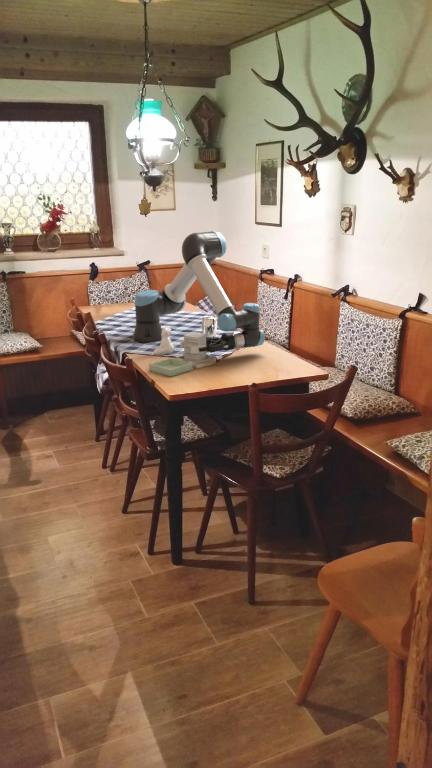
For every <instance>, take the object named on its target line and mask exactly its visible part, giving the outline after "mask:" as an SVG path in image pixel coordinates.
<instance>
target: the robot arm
mask: <svg viewBox="0 0 432 768" xmlns="http://www.w3.org/2000/svg"><path fill="white" fill-rule="evenodd" d="M226 251H227V241H226V238H225V237H224V235H223V234H222V233H221V232H219V231H213V230H211V231H205V232H204V231H203V232H193V233H190V234H189V235H187V236H186V237H185V238H184V240H183V242H182V244H181V254H182V256H181V257H182V259H183V261H184V264H183V266H182V267H181V268H180V270H179V271H178V273H177V274H176V275H175V277H174V279H173V281H171V283H167V284H166V285H165V286H164V287H163V288H162V290H161V291H158V290H156V289H148V290H147V289H146V290H142V291H139V292H137V293H136V294H135V296H134V307H135V326H134V331H133V333H132V339H133V341H135V342H139V343H140V342H141V343H153V342H159V341H160V342H161V340H162V336H161V334H162V331H163V329H162V326H161V323H160V316H165V315H171V314H177V313H178V312H181V311H182V310H184V308H185V306H186V300H187V299H186V293H188V291H189V290H190V288H191V287H192V285H193V284H194V282H195V281H196V280H197V282H198V283H199V284H200V286H201V288H202V289H203V291H204V293H205V295H206V296H207V298H208V300H209V302H210V304H211V305H212V307H213V309H214V311H215V313H216V314H217V328H218V329H220V330H221V331H223V332H224V333H223V334H221V336H220V337H216V338H215V337H206V345H202V346H195V347H191V353H192V354H193V353H200V352H206V353H211V354H213V353H215V352H219V351H233V350H236V351H238V350H239V349H245V348H256V347H259V346H262V345H263V344H264V343H265V341H266V336H265V332H264V331H263V330H262V329H261V328H260V321H261V320H260V319H261V318H260V317H261V316H260V314H261V312H260V311H261V310H260V305H259V304H258V303H254V302H247V303H244V304H243V305H242V309H239V310H236V309H235V308H234V305H233V304H232V303H231V301H230V298H229V297H228V296H227V293H226V292H225V290H224V288H223V287H222V284H220V282H219V279H218V278H217V276H216V274H215V273H214V270H213V269H212V268H211V265H212V264H213V263H214V261H215V260H216V259H217V258H221V257H223V256H224V255H225V253H226ZM237 329H238V330H239V329H242V330H241V331H234V330H237ZM230 331H231V332H230ZM226 332H227V333H226ZM211 343H212V344H211ZM180 348H181V349H184V340H180Z"/></svg>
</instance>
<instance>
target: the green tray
mask: <svg viewBox="0 0 432 768" xmlns="http://www.w3.org/2000/svg"><path fill="white" fill-rule="evenodd" d="M175 358H176V357H174V358H173V357H168V358H166V359H163V360H158V361H155V362H151V363H149V364H148V366H149V367H148V369H149V372H151V373H155V374H159V375H162V376H166V377H168V378H172V377H175V376H179V375H182V374H184V373H188V372H191V371H193V370H194V369H193V366H192V363H190V362H186V361H182V360H178V359H175Z"/></svg>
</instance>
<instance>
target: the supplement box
mask: <svg viewBox="0 0 432 768" xmlns="http://www.w3.org/2000/svg"><path fill="white" fill-rule="evenodd" d="M183 341H184V348H183V355H184V360H187V361H191V362H195V363H196V362H199V361H203V360H206V355H207V352H200V353H193V354H192V353H191V347H195V346H202V345H206V334H204V333H203V332H194V331H191V332H189V333H186V334H185V335H183Z"/></svg>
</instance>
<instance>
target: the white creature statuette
mask: <svg viewBox="0 0 432 768" xmlns="http://www.w3.org/2000/svg"><path fill="white" fill-rule="evenodd" d="M171 331H172V327H171V328H169V327H167V326H165V327H163V329H162V334H161V336H162V340H160V345H159V346H158V348H155V349H154V350H153V354H154V355H155V356H156V355H169V354H170V355H171V354H172V353H173V352H174V351H175V346H174V344H173V343H172V339H171V337H170V336H171Z"/></svg>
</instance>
